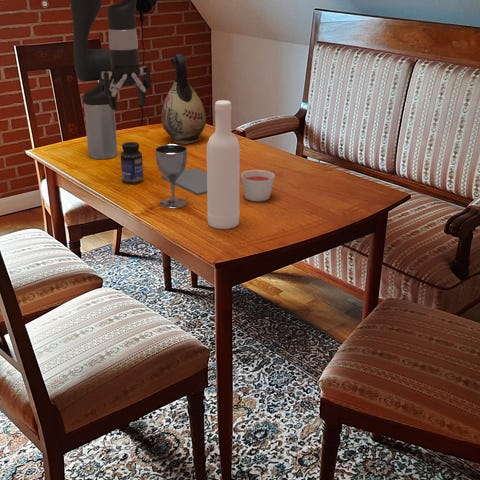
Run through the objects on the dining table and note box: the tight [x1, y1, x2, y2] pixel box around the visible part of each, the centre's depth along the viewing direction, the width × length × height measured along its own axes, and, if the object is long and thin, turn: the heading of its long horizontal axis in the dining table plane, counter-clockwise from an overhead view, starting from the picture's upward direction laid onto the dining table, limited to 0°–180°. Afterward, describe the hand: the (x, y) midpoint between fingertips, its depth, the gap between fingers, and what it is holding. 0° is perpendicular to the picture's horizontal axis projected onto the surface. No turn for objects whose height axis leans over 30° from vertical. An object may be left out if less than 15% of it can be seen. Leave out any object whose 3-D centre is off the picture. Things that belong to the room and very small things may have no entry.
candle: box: [240, 169, 275, 202], centre depth 168 cm, size 9×9×6 cm
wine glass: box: [155, 143, 188, 209], centre depth 162 cm, size 8×8×15 cm
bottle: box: [206, 99, 241, 230], centre depth 147 cm, size 8×8×30 cm
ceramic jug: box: [160, 53, 207, 145], centre depth 211 cm, size 17×15×30 cm
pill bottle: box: [119, 141, 144, 185], centre depth 178 cm, size 6×6×11 cm
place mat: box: [161, 167, 207, 196], centre depth 180 cm, size 18×12×1 cm, turn 39°
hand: (127, 107), depth 171 cm, fingers open, 8 cm apart
